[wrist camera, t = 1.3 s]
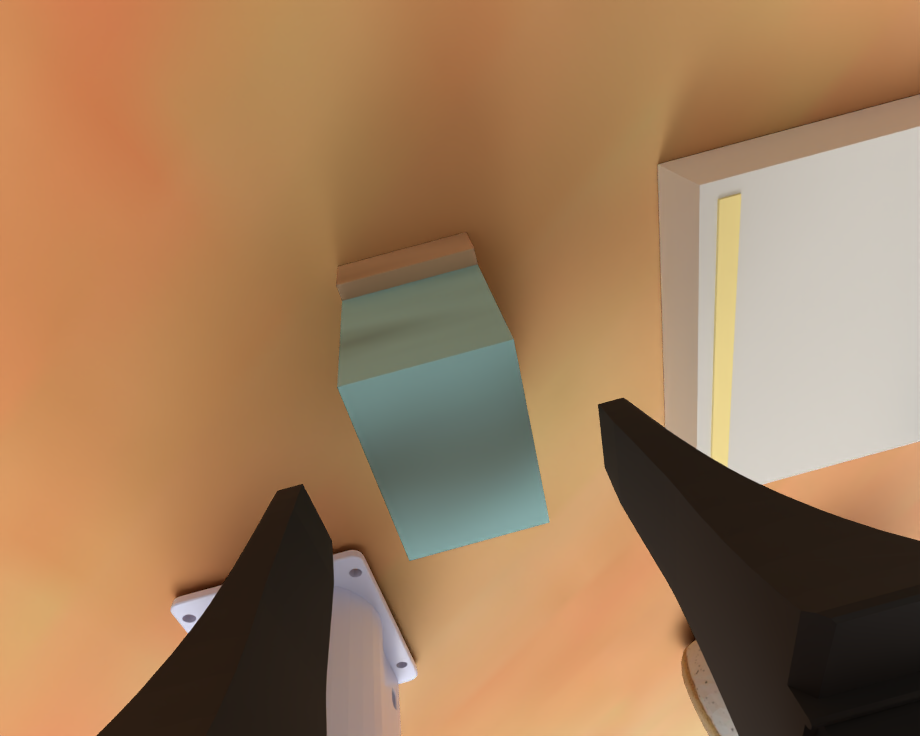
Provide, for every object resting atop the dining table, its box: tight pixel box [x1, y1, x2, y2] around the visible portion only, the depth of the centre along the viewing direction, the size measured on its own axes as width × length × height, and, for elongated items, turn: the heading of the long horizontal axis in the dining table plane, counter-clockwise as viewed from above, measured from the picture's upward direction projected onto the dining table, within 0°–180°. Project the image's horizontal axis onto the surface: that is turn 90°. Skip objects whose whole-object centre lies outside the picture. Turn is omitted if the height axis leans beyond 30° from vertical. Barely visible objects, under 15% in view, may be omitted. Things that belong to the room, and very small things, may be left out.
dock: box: [658, 94, 920, 485], centre depth 18 cm, size 12×10×4 cm
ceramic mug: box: [681, 640, 738, 736], centre depth 28 cm, size 11×8×8 cm
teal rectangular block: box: [336, 232, 549, 561], centre depth 17 cm, size 7×4×6 cm, turn 13°
